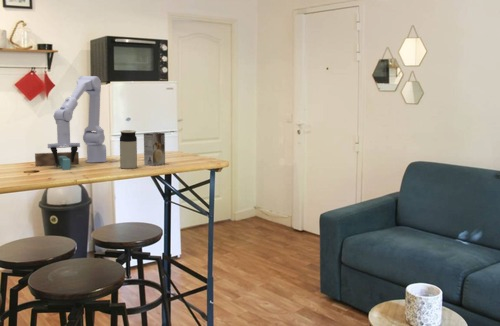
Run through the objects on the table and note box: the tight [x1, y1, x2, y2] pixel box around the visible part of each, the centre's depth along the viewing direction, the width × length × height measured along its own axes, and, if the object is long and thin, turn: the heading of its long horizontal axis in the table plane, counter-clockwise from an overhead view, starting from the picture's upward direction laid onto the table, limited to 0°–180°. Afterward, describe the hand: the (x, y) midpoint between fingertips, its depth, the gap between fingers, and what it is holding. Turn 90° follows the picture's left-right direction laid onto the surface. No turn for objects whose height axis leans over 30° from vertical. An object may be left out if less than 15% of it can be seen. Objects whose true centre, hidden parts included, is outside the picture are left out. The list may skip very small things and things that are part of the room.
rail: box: [58, 156, 71, 171], centre depth 248 cm, size 3×15×5 cm, turn 28°
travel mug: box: [119, 129, 138, 170], centre depth 250 cm, size 8×8×18 cm
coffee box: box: [143, 132, 166, 167], centre depth 262 cm, size 9×6×16 cm
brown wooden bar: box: [34, 151, 80, 168], centre depth 253 cm, size 20×6×6 cm, turn 118°
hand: (64, 162), depth 248 cm, fingers open, 7 cm apart
